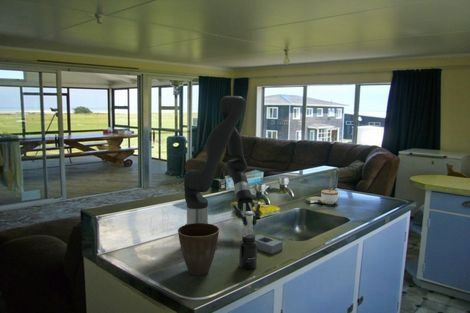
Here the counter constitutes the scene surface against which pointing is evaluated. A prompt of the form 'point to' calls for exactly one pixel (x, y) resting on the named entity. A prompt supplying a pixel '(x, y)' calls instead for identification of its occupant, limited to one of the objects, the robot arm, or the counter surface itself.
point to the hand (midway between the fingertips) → (250, 224)
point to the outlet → (268, 244)
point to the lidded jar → (329, 196)
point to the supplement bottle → (248, 252)
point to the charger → (249, 222)
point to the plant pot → (198, 246)
